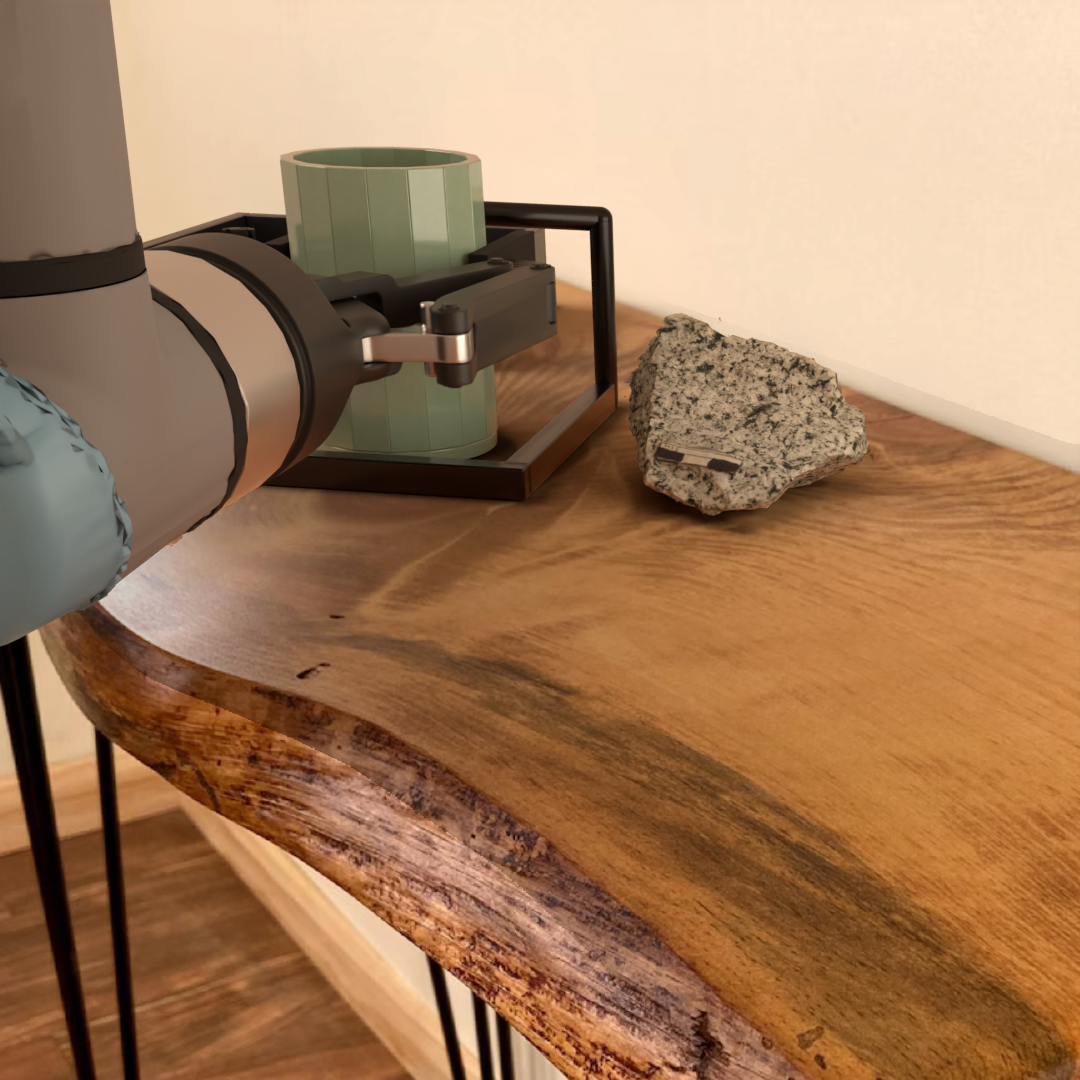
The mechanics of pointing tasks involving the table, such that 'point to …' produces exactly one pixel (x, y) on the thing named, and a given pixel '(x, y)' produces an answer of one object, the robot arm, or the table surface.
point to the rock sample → (736, 418)
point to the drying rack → (546, 445)
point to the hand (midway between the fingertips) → (431, 259)
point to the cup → (399, 251)
